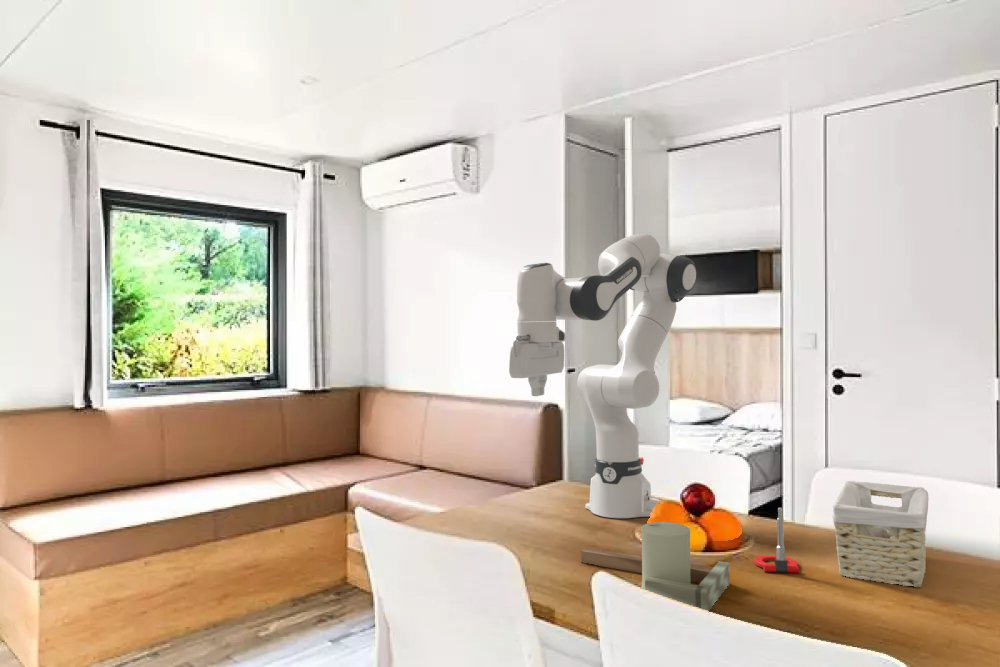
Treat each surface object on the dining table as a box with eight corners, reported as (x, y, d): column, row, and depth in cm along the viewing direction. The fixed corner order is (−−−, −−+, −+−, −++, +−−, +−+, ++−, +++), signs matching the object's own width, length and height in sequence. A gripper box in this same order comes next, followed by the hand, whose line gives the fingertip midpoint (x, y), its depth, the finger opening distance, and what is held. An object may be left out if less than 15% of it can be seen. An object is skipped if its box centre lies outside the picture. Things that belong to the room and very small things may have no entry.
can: (664, 577, 142) (663, 516, 141) (702, 590, 134) (701, 527, 134) (631, 587, 136) (630, 524, 136) (668, 602, 129) (667, 536, 129)
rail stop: (586, 559, 153) (585, 540, 153) (729, 583, 137) (729, 562, 137) (551, 584, 139) (550, 563, 139) (706, 614, 123) (706, 591, 123)
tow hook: (750, 560, 152) (759, 573, 143) (750, 498, 153) (759, 508, 143) (792, 561, 151) (804, 575, 142) (791, 500, 151) (803, 509, 142)
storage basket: (926, 593, 131) (926, 513, 131) (830, 578, 140) (829, 502, 140) (930, 556, 151) (929, 487, 151) (845, 544, 160) (844, 479, 160)
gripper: (527, 335, 151) (528, 400, 152) (568, 333, 169) (569, 392, 169) (501, 335, 155) (502, 399, 155) (545, 333, 172) (545, 391, 172)
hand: (538, 395), depth 162 cm, fingers closed
